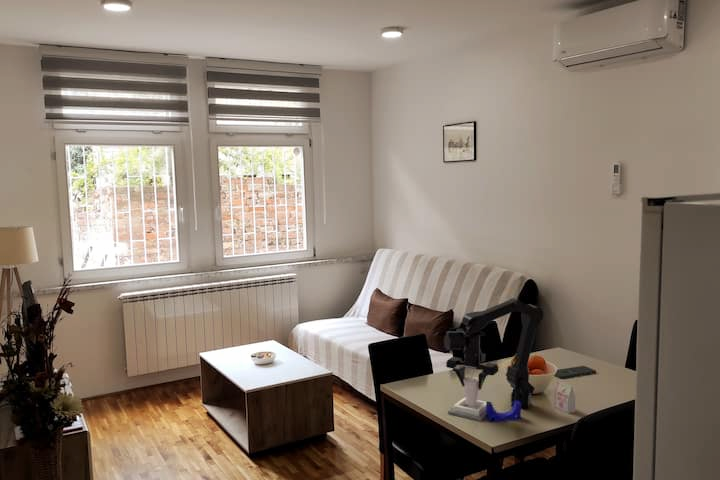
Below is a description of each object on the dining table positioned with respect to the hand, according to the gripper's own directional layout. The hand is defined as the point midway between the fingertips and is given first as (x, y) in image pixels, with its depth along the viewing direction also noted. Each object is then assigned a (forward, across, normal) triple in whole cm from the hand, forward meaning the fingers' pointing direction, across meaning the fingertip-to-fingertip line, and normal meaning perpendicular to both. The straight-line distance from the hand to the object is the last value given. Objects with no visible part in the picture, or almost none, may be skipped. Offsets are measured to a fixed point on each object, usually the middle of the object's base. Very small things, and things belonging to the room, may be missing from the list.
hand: (471, 387), depth 223 cm
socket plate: (+9, 0, 0) cm, 9 cm away
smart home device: (+10, -21, -65) cm, 69 cm away
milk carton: (+10, -29, -21) cm, 37 cm away
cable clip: (+10, -12, 0) cm, 16 cm away
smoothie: (+7, 0, 0) cm, 7 cm away
